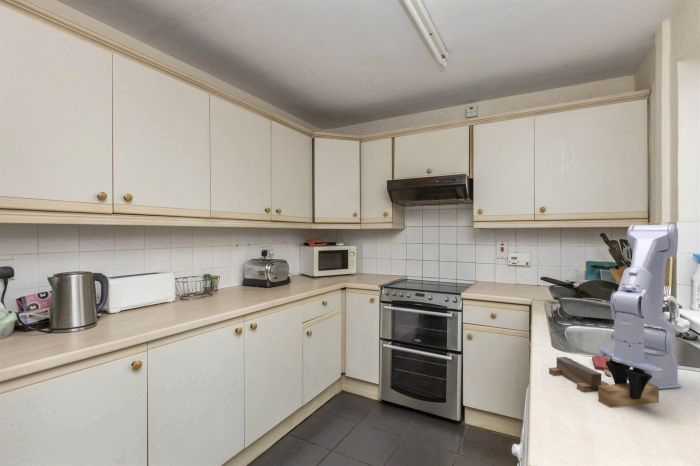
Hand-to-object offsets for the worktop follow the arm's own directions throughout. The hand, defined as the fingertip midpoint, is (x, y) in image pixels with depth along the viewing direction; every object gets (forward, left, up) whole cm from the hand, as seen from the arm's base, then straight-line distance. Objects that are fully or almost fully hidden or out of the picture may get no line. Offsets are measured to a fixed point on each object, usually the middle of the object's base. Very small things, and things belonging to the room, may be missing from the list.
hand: (628, 394), depth 83 cm
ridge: (+3, -12, -2) cm, 12 cm away
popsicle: (-13, -19, -2) cm, 23 cm away
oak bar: (0, 0, -2) cm, 2 cm away
